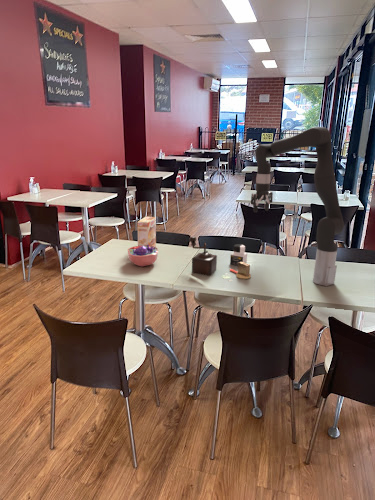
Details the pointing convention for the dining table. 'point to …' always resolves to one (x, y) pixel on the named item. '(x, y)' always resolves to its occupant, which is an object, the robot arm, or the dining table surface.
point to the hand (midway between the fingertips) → (261, 211)
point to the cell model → (143, 255)
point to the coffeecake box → (147, 231)
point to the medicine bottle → (238, 255)
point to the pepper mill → (203, 260)
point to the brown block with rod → (242, 271)
